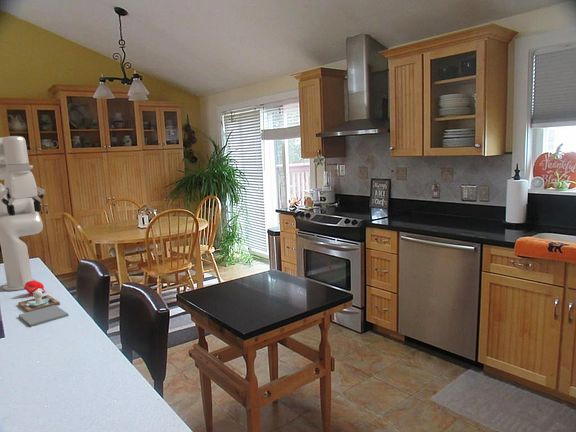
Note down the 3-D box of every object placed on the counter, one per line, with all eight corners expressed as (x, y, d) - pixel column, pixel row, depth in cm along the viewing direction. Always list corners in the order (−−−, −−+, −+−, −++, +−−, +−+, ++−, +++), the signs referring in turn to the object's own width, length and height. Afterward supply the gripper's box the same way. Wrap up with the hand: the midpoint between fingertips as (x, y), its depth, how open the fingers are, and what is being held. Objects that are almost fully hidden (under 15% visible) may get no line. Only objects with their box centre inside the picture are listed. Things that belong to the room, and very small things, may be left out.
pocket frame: (18, 304, 167) (18, 302, 166) (48, 297, 174) (47, 294, 174) (28, 313, 157) (28, 310, 157) (60, 304, 165) (59, 302, 164)
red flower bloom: (26, 291, 173) (39, 280, 176) (19, 284, 176) (32, 274, 179) (37, 302, 179) (50, 291, 181) (30, 295, 182) (43, 285, 184)
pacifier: (27, 305, 166) (28, 309, 161) (25, 290, 165) (26, 293, 160) (48, 301, 170) (50, 304, 165) (46, 285, 169) (48, 289, 165)
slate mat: (19, 316, 154) (18, 314, 154) (55, 307, 162) (54, 304, 162) (30, 326, 144) (30, 324, 144) (68, 315, 153) (68, 313, 152)
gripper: (35, 168, 174) (42, 210, 176) (-12, 171, 159) (-4, 216, 162) (46, 167, 170) (52, 210, 172) (-1, 170, 155) (6, 217, 158)
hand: (25, 213), depth 167 cm, fingers open, 9 cm apart
